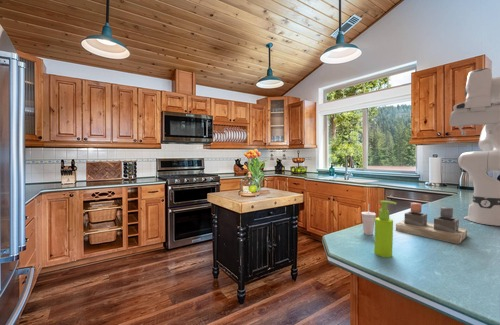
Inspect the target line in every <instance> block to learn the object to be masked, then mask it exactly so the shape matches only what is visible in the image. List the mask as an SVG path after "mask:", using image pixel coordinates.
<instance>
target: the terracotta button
mask: <svg viewBox="0 0 500 325" xmlns="http://www.w3.org/2000/svg"><path fill="white" fill-rule="evenodd" d="M422 207H423V205H422V203H419V202H410V211H411V212H415V213H422Z"/></svg>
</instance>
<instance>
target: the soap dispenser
mask: <svg viewBox="0 0 500 325" xmlns="http://www.w3.org/2000/svg"><path fill="white" fill-rule="evenodd" d="M379 203H380V204H381V208H379V209H378V216H377V217H375V222H374V251H373V252H374V254H375V255H376V256H379V257H383V258H391V257H393V240H394V239H393V238H394V220H393V219H392V218H390V210H389V209H388V204H392V205H395V206H396V205H397V202H395V201H392V200H391V201H390V200H380V201H379Z"/></svg>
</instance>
